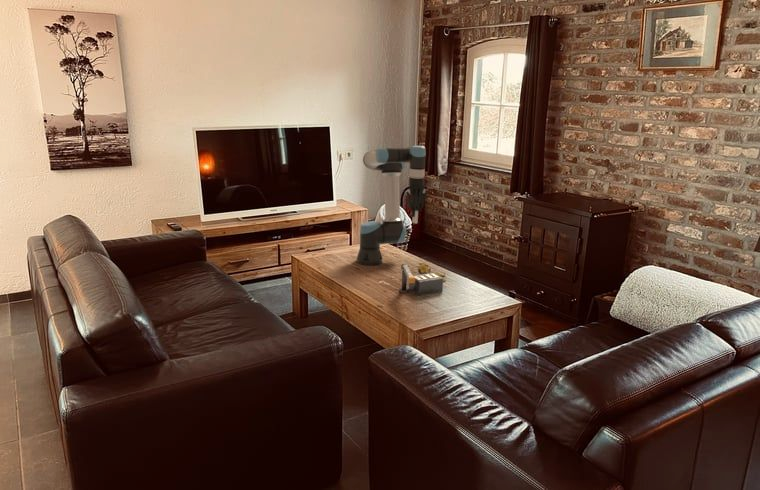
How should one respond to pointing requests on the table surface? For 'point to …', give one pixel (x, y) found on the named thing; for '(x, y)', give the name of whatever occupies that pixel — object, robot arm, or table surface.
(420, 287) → the block
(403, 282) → the post
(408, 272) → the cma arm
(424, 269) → the figurine
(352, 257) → the table surface
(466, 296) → the table surface
